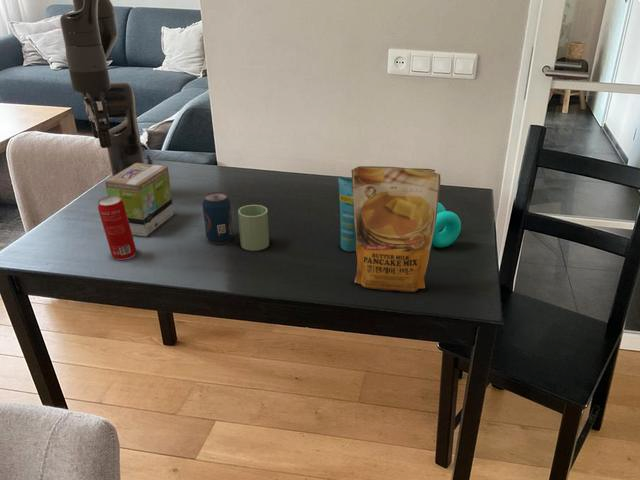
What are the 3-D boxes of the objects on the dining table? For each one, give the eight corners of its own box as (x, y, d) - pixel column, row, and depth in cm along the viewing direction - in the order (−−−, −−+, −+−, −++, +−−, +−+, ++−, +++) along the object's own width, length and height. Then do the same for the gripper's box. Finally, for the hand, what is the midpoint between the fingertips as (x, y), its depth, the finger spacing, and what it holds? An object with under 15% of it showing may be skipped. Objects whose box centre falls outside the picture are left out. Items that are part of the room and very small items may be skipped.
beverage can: (141, 253, 145) (131, 197, 138) (119, 264, 141) (107, 206, 133) (126, 247, 148) (115, 192, 141) (103, 257, 143) (91, 200, 136)
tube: (333, 249, 151) (334, 178, 141) (340, 241, 155) (340, 172, 145) (361, 254, 149) (363, 183, 139) (366, 245, 153) (369, 176, 143)
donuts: (428, 252, 151) (431, 217, 145) (409, 236, 158) (412, 202, 153) (460, 245, 154) (465, 211, 149) (440, 230, 162) (444, 196, 157)
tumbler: (236, 241, 153) (233, 207, 148) (263, 235, 156) (260, 202, 151) (246, 253, 147) (244, 218, 143) (273, 247, 151) (272, 213, 146)
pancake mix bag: (350, 273, 140) (353, 161, 126) (430, 279, 139) (442, 166, 125) (347, 287, 134) (349, 171, 120) (430, 294, 133) (442, 178, 119)
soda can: (204, 235, 155) (199, 193, 149) (230, 231, 158) (226, 189, 152) (209, 246, 150) (204, 203, 144) (236, 242, 152) (232, 199, 146)
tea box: (148, 237, 153) (139, 184, 146) (113, 233, 155) (102, 180, 147) (175, 214, 166) (168, 164, 158) (142, 210, 167) (134, 161, 160)
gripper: (113, 71, 120) (126, 148, 128) (100, 60, 131) (114, 132, 138) (73, 74, 116) (90, 153, 124) (64, 62, 127) (79, 136, 135)
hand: (102, 142), depth 131 cm, fingers open, 8 cm apart
